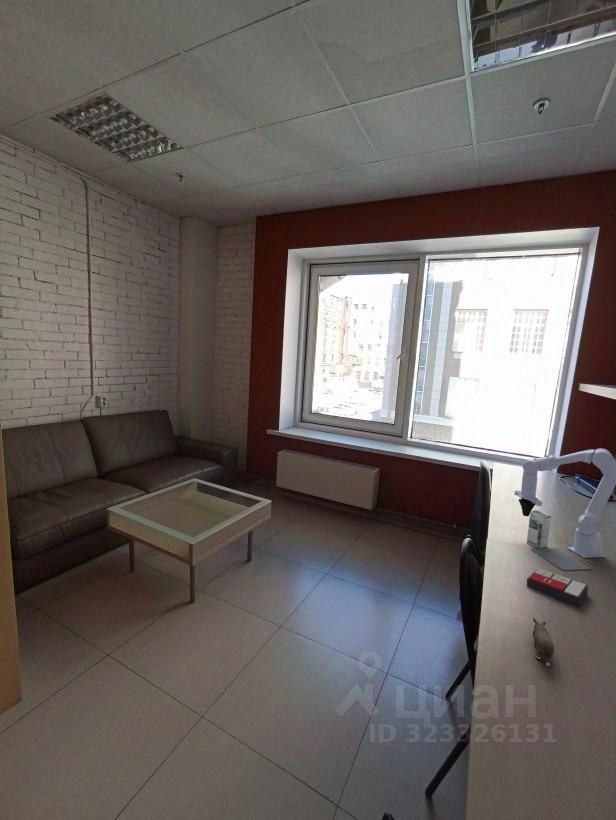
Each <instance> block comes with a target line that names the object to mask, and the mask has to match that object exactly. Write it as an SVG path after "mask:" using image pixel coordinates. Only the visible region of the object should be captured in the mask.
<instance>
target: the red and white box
mask: <svg viewBox="0 0 616 820" xmlns="http://www.w3.org/2000/svg"><path fill="white" fill-rule="evenodd" d="M526 587H527V588H530V589H532V590H535V591H536V592H539V593H541V594H544V595H546V596H550V597H552V598H555V599H557V600H559V601H562V602H563V603H565V604H567V603H568V605H569V604H571V605H570V606H572V605H573V606H572V607H574V606H575V607H574V608H576V607H577V608H576V609H579V607H581V606H582V605H583V603H584V601H585V600H586V598H587V597H588V587H589V586H588V585H586V584H585V583H582V582H580V581H576V580H572V579H571V578H569V577H567V576H562V575H561V574H557V573H555V574H554V572H553V571H552V572H551V571H548V570H545V569H542V568H539V567H538V568H537V569H536V570H535V571H534V572H533V573H532V574H530V576H528V578H527V579H526Z"/></svg>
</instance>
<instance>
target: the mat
mask: <svg viewBox="0 0 616 820" xmlns="http://www.w3.org/2000/svg"><path fill="white" fill-rule="evenodd" d="M531 551H533V553H535V554H537V555H538V556H540V557H541V558H543V559H545V560H546V561H547V562H549V563H550V564H551V565H554V566H555V567H556V568H557V569H559V570H561V571H563V572H568V571H569V572H570V571H586V570H587V571H590V570H592V568H591V567H589V566H588V565H585V564H584V563H583V562H581V561H580V560H577V559H576V558H574V557H572V556H571V555H570V554H568V553H566V552H564V551H563V550H561V549H559V548H557V547H553V548H552V547H550V548H547V547H544V548H539V549H538V548H532V549H531Z"/></svg>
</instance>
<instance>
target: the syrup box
mask: <svg viewBox="0 0 616 820" xmlns="http://www.w3.org/2000/svg"><path fill="white" fill-rule="evenodd" d="M551 519H552V515H551V514H549V513H546V512H544V511H541V510H536V509H535V510H531V512H530V515H529V520H528V529H527V537H526V544H529V546H530V545H531V546H533V547H535V549H545V548H547V547H548V545H549V544H548V543H549V535H550V527H551V521H552V520H551Z"/></svg>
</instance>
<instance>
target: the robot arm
mask: <svg viewBox="0 0 616 820" xmlns="http://www.w3.org/2000/svg"><path fill="white" fill-rule="evenodd" d="M578 462H583V463H586V464H591V462H592V464H593V465H594V466H596V467H597V468H598V469H599V470H600V472H601V473H602V475H603V476H602V477H601V479H600V482H599V484H598V486H597V487H596V490H595V492H594V494H593V495H592V498H591V500H590V502H589V503H588V506H587V507H586V509H585V511H584V512H583V513H582V514H580V515H579V516H578V518H577V519H578V523H577V525H576V526H577V527H576V528H575V533H574V541H573V546H569V547H567V549H568V550H570V551H571V552H573V553H574V554H577V555H579V556H580V557H582V558H604V557H605V556H604V555H603V549H604V537H603V536H602V534H601V533H599V532H598V531H597V530H598V526H597V525H598V522H599V520H600V517H601V515H602V512H603V510H604V508H605V507H606V504H607V503H608V501H609V499H610V497H611V495H612V492H613V491H614V489H615V488H616V459H615V457H614V455H613V454H612V453H611V452H610V451H609V450H608V449H606V448H602V447H600V448H596V449H594V448H593V449H587V450H582V451H577V452H573V453H569V454H566V455H561V456H555V455H552V454H551V455H550V454H546V455H545V456H543V457H539V458H537V457H534V458H533V459H527V460H526V461H525V462H524V463H523V465H522V470H523V471H522V479H521V489H520V490H514V495H515V496H518V503H519V504H520V507H521V511H522V512H521V513H522V516H524V517H530V512H531V511H533V509H534V508H535V506H536V507H542V506H543V501H542V500H540V499H539V498H537V496H536V495H537V487H538V472H545V471H551V470H557V469H558V468H559V466H561V465H565V464H572V463H578Z"/></svg>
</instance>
